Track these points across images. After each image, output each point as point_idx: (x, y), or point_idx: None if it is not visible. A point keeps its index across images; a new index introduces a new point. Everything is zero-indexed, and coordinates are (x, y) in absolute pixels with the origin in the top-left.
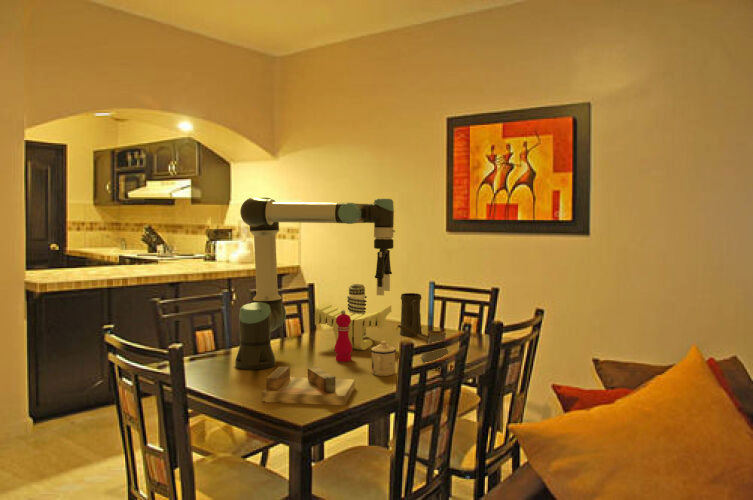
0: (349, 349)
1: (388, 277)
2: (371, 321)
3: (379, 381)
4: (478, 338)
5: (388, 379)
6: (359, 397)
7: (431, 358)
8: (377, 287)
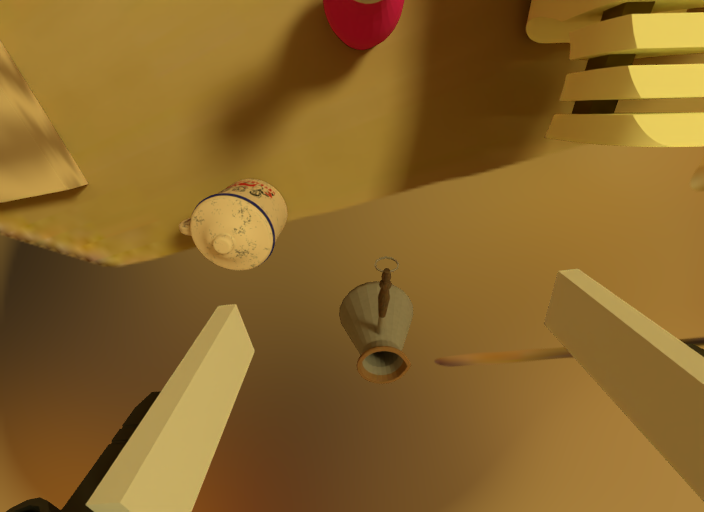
0: (345, 40)
1: (679, 455)
2: (587, 75)
3: None
4: None
5: None
6: (41, 218)
7: (342, 315)
8: (182, 371)
